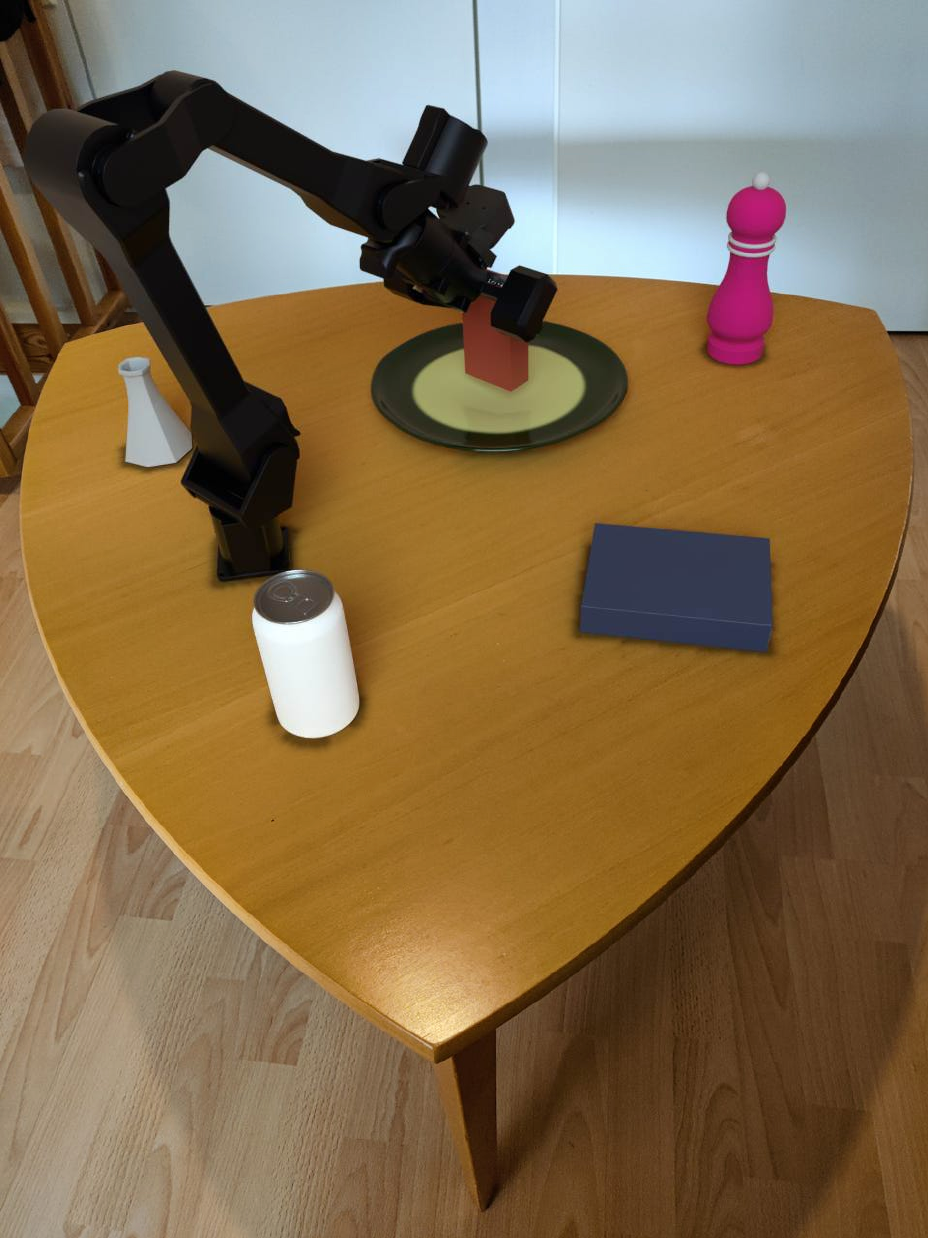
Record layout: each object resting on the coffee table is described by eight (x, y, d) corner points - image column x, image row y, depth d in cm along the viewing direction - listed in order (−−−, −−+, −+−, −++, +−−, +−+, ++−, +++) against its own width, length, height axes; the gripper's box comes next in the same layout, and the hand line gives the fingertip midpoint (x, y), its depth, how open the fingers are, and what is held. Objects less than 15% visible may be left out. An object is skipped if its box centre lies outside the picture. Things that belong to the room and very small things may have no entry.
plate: (337, 454, 103) (334, 433, 101) (411, 327, 122) (409, 308, 121) (608, 482, 97) (609, 461, 96) (640, 344, 117) (642, 325, 115)
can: (319, 667, 81) (295, 553, 73) (377, 703, 78) (359, 588, 69) (260, 715, 77) (227, 601, 69) (318, 755, 74) (292, 641, 66)
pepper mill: (689, 345, 116) (711, 167, 102) (741, 331, 118) (769, 154, 104) (726, 373, 111) (755, 190, 97) (779, 357, 113) (814, 176, 99)
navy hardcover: (579, 632, 82) (580, 606, 80) (593, 548, 90) (594, 522, 88) (767, 652, 80) (773, 625, 78) (764, 564, 88) (770, 537, 86)
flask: (202, 431, 107) (180, 346, 101) (182, 470, 102) (157, 383, 95) (138, 430, 108) (111, 345, 101) (114, 468, 103) (85, 382, 96)
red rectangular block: (511, 391, 106) (509, 293, 98) (465, 373, 109) (460, 276, 101) (528, 380, 107) (528, 282, 100) (482, 362, 110) (479, 266, 103)
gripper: (546, 189, 86) (613, 268, 99) (391, 147, 95) (471, 225, 108) (489, 309, 87) (563, 371, 100) (342, 257, 96) (427, 320, 110)
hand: (505, 317), depth 105 cm, fingers open, 9 cm apart
